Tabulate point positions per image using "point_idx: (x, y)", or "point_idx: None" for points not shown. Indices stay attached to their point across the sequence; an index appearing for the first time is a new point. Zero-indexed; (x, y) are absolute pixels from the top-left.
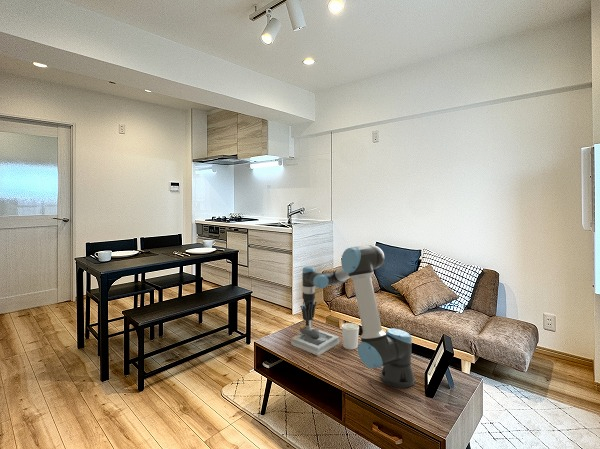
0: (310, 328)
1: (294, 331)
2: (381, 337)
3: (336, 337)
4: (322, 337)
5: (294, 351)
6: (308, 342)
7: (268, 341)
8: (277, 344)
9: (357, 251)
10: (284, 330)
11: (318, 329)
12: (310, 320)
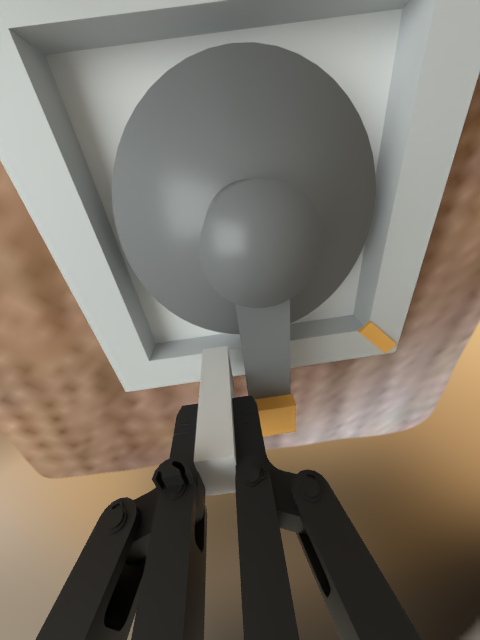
0: (212, 364)
1: None
2: None
3: None
4: (180, 162)
5: (446, 235)
6: (404, 182)
7: (395, 410)
8: (403, 368)
9: None
10: None
11: (202, 239)
12: (210, 458)
